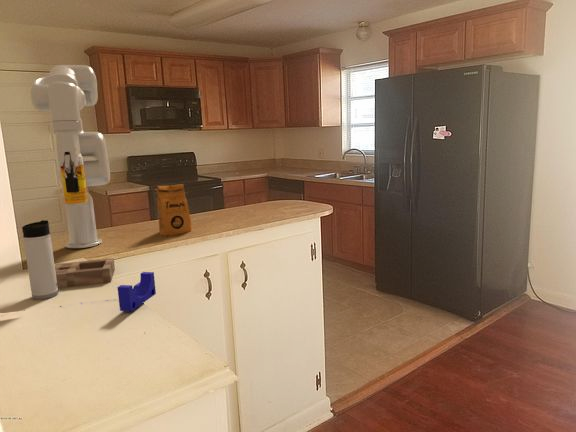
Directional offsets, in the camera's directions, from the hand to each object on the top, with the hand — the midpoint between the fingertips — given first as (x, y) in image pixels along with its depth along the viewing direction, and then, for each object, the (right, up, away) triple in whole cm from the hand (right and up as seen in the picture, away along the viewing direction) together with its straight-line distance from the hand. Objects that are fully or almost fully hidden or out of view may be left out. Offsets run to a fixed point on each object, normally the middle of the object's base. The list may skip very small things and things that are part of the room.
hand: (74, 190), depth 132 cm
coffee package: (+17, -17, +52) cm, 57 cm away
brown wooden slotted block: (+1, -26, +3) cm, 27 cm away
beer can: (0, -5, +1) cm, 5 cm away
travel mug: (-3, -29, -10) cm, 31 cm away
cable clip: (+24, -30, -17) cm, 41 cm away
